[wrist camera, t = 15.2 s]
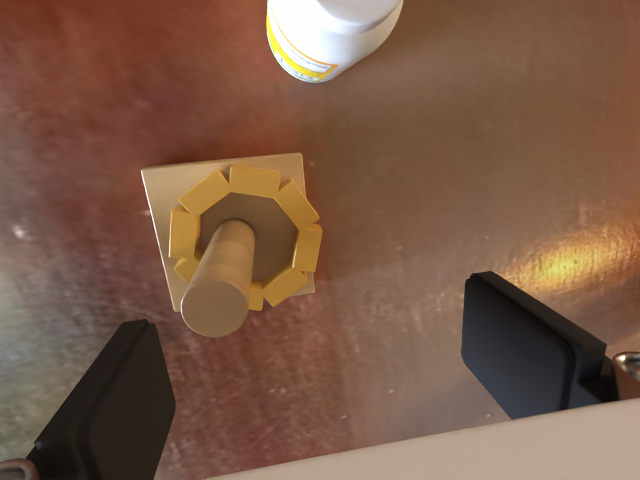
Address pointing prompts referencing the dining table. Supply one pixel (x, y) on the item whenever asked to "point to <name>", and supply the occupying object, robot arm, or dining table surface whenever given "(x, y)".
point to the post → (224, 240)
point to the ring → (258, 184)
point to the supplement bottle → (327, 34)
